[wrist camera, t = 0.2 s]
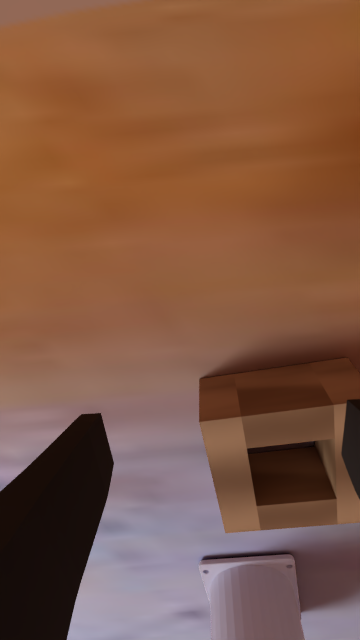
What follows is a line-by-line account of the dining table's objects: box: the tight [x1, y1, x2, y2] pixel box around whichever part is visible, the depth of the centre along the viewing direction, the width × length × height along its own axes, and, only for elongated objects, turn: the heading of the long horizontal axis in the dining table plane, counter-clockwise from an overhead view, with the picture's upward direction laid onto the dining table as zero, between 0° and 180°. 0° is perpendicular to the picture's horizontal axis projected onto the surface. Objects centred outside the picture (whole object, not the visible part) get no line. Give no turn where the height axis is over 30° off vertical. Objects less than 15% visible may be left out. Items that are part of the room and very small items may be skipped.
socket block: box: [199, 358, 360, 533], centre depth 20 cm, size 9×9×4 cm
